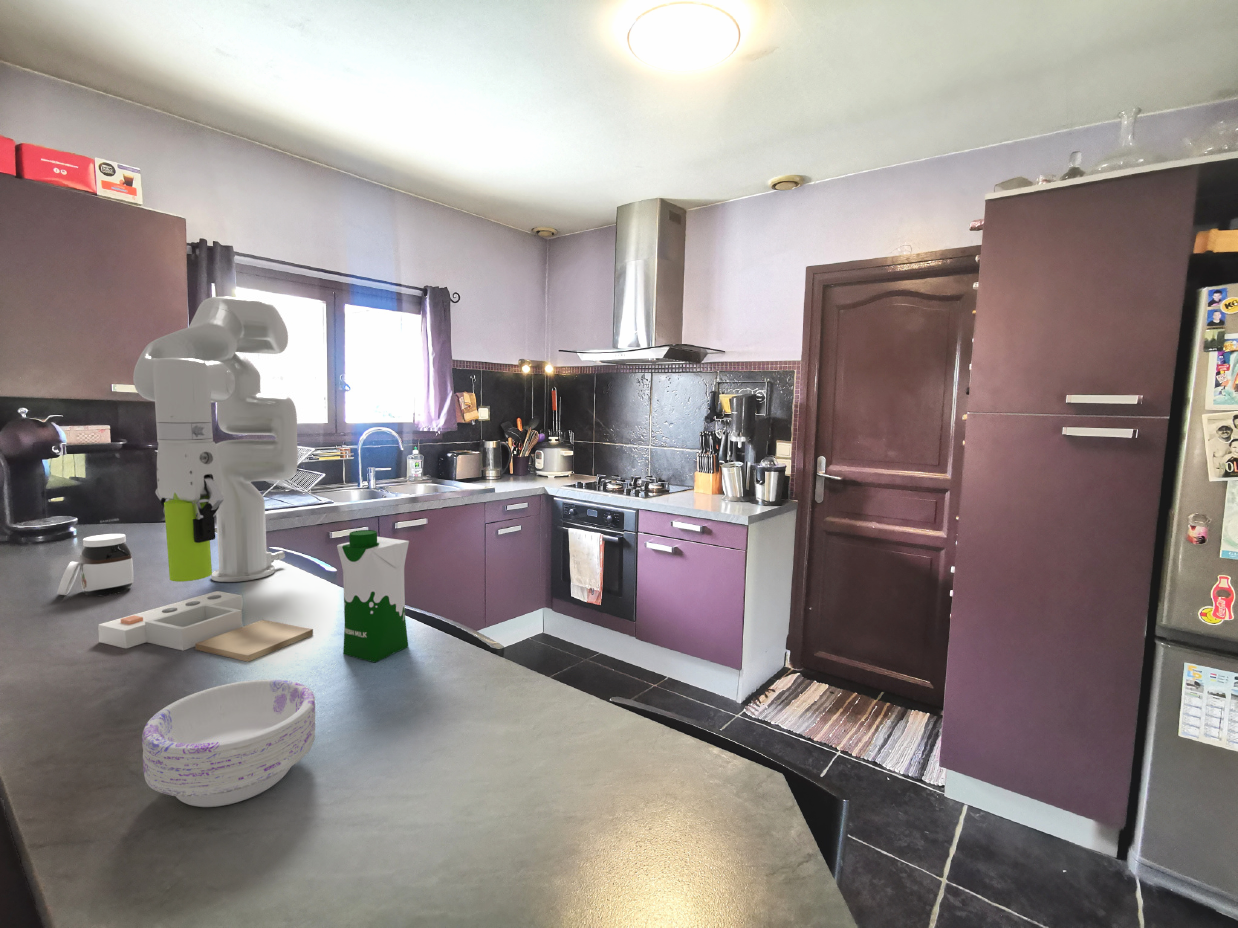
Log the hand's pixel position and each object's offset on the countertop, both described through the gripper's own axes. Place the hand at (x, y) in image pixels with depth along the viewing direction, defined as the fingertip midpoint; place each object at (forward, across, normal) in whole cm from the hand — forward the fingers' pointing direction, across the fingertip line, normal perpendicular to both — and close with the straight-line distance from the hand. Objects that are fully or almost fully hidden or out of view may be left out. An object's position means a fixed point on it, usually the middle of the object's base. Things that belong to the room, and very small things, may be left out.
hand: (191, 537), depth 101 cm
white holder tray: (+17, +3, -1) cm, 17 cm away
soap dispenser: (+7, 0, 0) cm, 7 cm away
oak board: (+17, -13, -1) cm, 21 cm away
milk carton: (+17, -34, -6) cm, 38 cm away
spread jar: (+18, +42, -7) cm, 47 cm away
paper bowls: (+16, -45, +26) cm, 54 cm away
